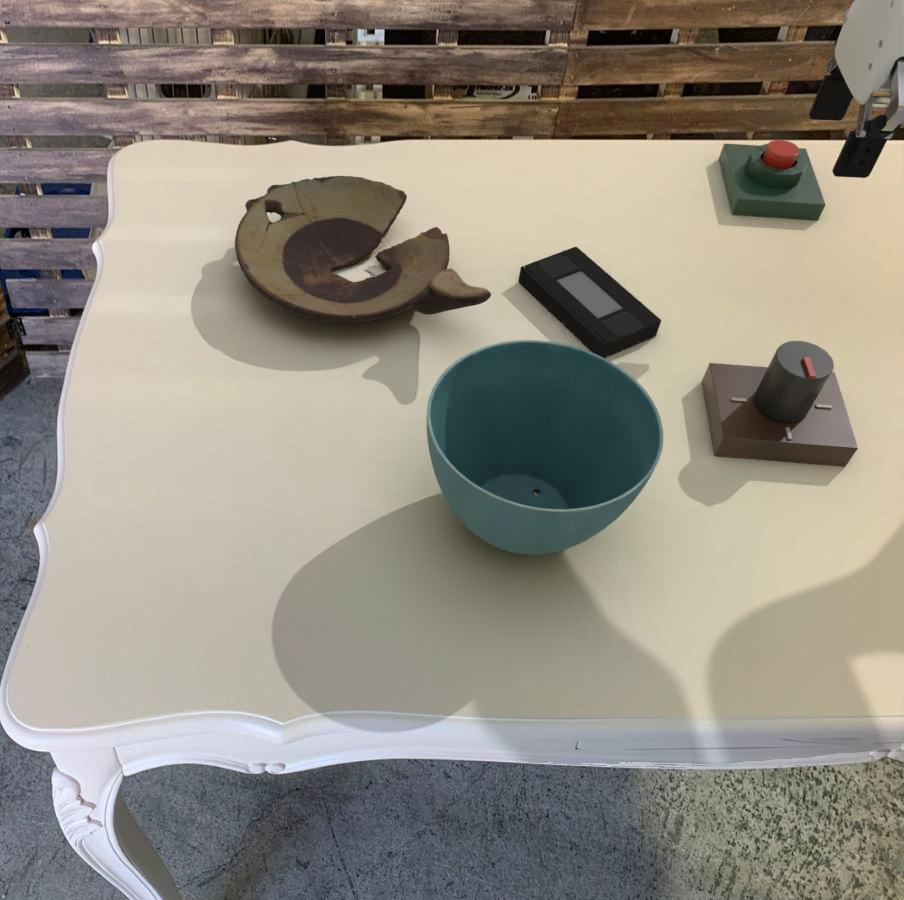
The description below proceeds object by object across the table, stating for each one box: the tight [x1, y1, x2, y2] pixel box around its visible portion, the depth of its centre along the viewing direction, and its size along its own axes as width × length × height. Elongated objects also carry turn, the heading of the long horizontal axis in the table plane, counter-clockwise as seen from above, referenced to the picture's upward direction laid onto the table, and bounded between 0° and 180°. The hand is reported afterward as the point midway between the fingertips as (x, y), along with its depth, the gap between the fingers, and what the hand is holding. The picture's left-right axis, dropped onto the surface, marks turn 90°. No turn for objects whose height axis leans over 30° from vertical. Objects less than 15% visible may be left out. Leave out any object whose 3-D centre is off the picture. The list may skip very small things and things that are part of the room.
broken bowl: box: [234, 175, 492, 323], centre depth 94 cm, size 22×30×8 cm
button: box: [762, 139, 800, 169], centre depth 106 cm, size 4×4×2 cm
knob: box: [754, 340, 835, 422], centre depth 82 cm, size 5×5×6 cm
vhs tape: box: [518, 246, 662, 359], centre depth 95 cm, size 8×14×2 cm, turn 30°
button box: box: [718, 142, 826, 222], centre depth 108 cm, size 10×12×4 cm
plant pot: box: [426, 339, 664, 556], centre depth 74 cm, size 18×18×12 cm
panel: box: [701, 362, 859, 467], centre depth 85 cm, size 12×10×3 cm
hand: (836, 146), depth 84 cm, fingers open, 9 cm apart
